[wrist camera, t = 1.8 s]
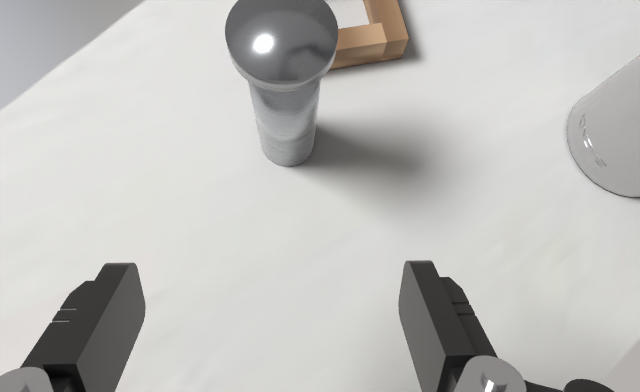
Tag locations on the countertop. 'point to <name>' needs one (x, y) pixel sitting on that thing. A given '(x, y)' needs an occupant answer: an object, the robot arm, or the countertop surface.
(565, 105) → the countertop surface
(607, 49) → the countertop surface
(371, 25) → the collar block
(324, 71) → the pin
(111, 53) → the countertop surface
